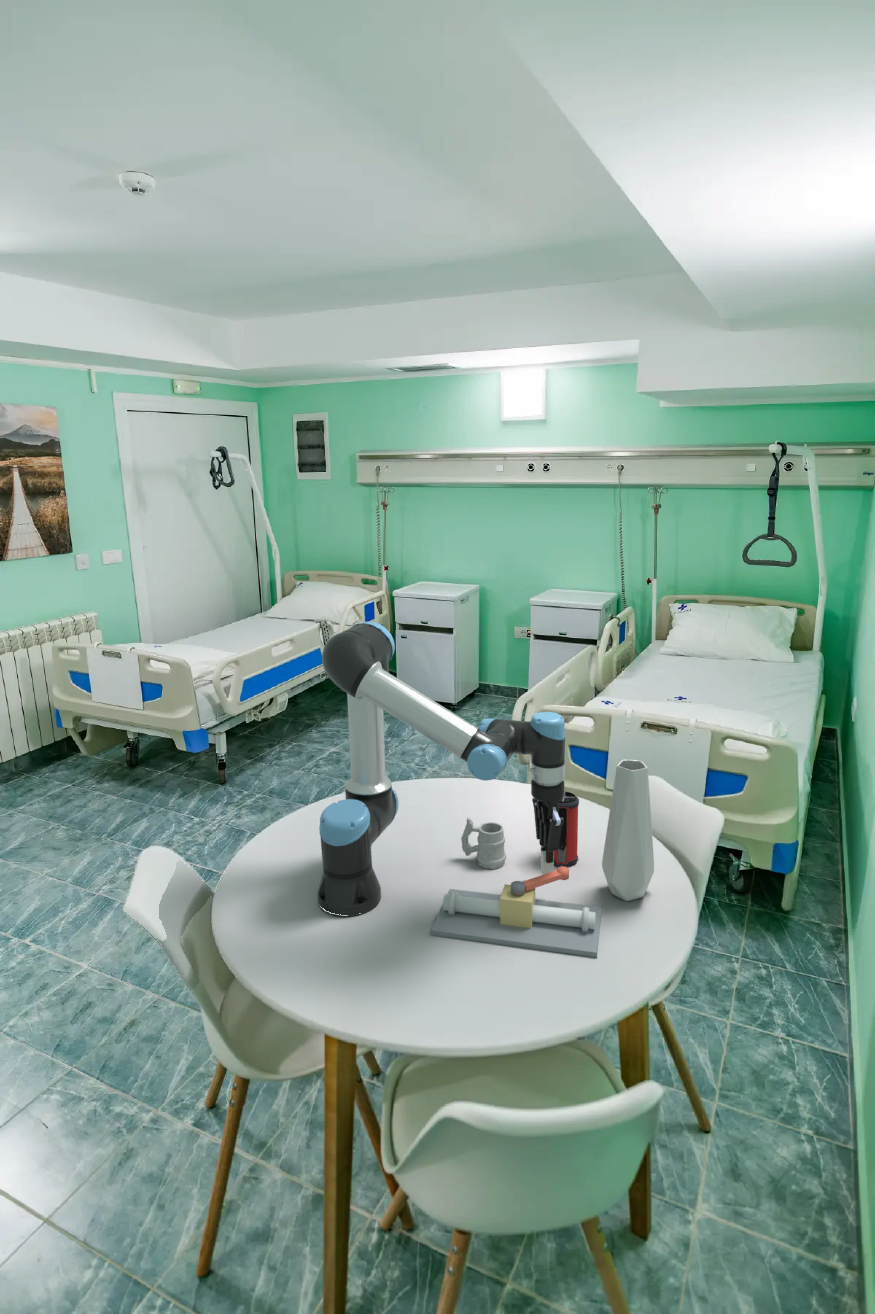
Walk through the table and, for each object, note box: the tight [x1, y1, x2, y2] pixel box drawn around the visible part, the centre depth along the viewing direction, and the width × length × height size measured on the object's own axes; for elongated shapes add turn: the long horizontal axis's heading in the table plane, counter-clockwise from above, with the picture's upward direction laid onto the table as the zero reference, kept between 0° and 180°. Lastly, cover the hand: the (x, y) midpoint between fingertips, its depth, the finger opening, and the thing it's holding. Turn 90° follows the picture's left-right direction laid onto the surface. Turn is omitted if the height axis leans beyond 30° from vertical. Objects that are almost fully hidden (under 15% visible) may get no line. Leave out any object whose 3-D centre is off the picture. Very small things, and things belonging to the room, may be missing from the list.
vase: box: [601, 759, 655, 902], centre depth 177 cm, size 12×12×33 cm
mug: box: [460, 816, 507, 870], centre depth 196 cm, size 8×12×12 cm, turn 75°
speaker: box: [554, 790, 580, 867], centre depth 194 cm, size 8×8×18 cm
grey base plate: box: [430, 884, 603, 958], centre depth 169 cm, size 36×17×8 cm, turn 75°
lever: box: [510, 866, 570, 896], centre depth 171 cm, size 15×3×2 cm, turn 118°
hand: (547, 872), depth 178 cm, fingers closed
